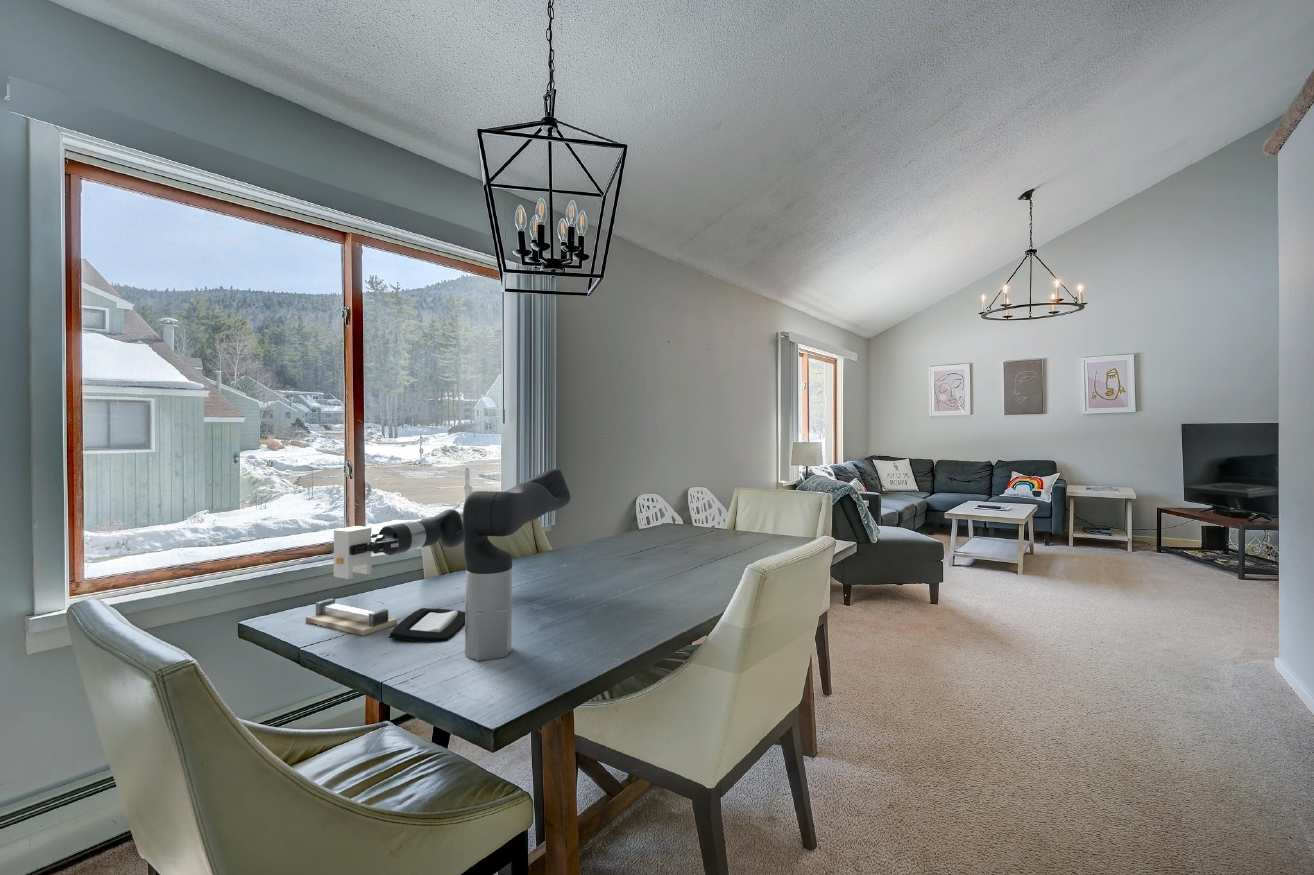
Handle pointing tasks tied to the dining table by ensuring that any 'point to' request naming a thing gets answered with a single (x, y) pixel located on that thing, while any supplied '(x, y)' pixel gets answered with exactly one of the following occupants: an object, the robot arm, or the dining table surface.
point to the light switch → (429, 625)
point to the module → (342, 557)
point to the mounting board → (348, 624)
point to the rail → (351, 613)
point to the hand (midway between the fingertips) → (342, 549)
